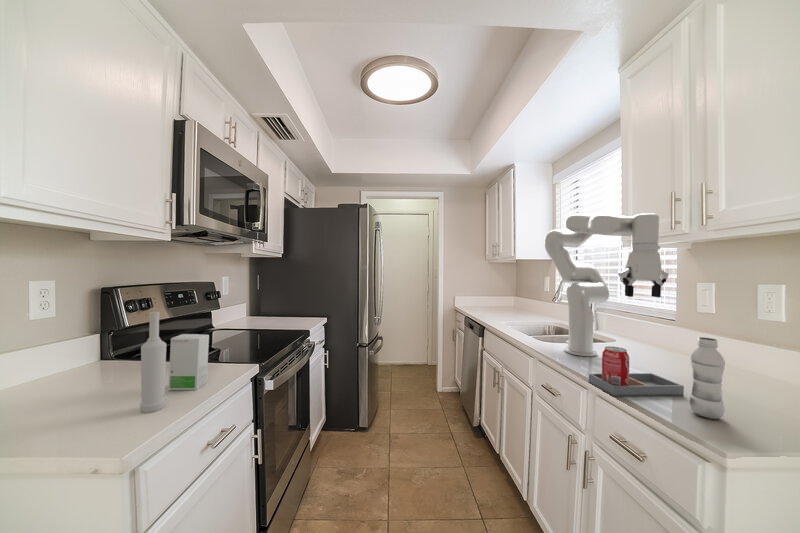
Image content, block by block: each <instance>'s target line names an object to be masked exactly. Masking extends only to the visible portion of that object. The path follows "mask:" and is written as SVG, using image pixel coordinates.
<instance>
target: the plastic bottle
mask: <svg viewBox="0 0 800 533" xmlns="http://www.w3.org/2000/svg"><path fill="white" fill-rule="evenodd" d="M696 344H697V346H698V347H697V348H696V349H695V350H694V351H693V352H692V353H691V355H690V363H691V370H692V377H693V378H692V390H691V394H690V397H689V406H690V409H691V411H692V412H693V413H695V414H696V415H698V416H699V417H700V416H701V417H703V418H706V419H711V420H712V419H713V420H720V419H721V418H723V417H724V415H725V411H726V410H725V404H724V401H723V393H722V392H723V391H722V387H723V386H722V385H723V384H722V383H723V375H724V372H725V371H724V370H725V366H726V360H725V358H724V357H723V356H722V354H721V353H720V352H719V351H718V350H717V348H719V345H718V339H715V338H709V337H701V336H700V337H697V343H696Z"/></svg>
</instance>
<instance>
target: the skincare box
mask: <svg viewBox="0 0 800 533" xmlns="http://www.w3.org/2000/svg"><path fill="white" fill-rule="evenodd" d="M209 344H210V334H198V333H191V334H190V333H182V334H181V333H180V334H179V335H177V336H172V337H171V338H170V348H169V349H170V350H169V351H170V352H169V367H168V368H169V370H168V371H169V373H168V389H167V390H168V391H197V390H199V389H200V388H201V387H203V386H204V385H206V384H207V382H208V368H209V367H208V365H209V364H208V362H209V347H210V345H209Z"/></svg>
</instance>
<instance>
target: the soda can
mask: <svg viewBox="0 0 800 533" xmlns="http://www.w3.org/2000/svg"><path fill="white" fill-rule="evenodd" d="M627 351H628V350H627V349H626V348H623V347H618V346H610V345H609V346H605V347H604V350H603V351H602V352H601V353H602V355H601V373H602V380H604V381H606V382H608V383H610V384H612V385H614V386H628V385H629V373H630V355H629V354H628V352H627Z"/></svg>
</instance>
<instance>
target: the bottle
mask: <svg viewBox="0 0 800 533" xmlns="http://www.w3.org/2000/svg"><path fill="white" fill-rule="evenodd" d="M148 314H149V316H148V320H149V321H148V322H149V326H148V327H149V328H148V329H149V331H148V334H149V337H148V338H147V340H146V342H144V343H143V344H142V345H141V346H140V356H141V357H140V366H141V369H140V370H141V371H140V374H141V376H140V378H141V402H140V404H139V409H140V412H141V413H143V414H148V413H156V412H158V411H160V410H161V411H162V410H163V409H164V408H165V406H166V398H165V389H166V387H165V386H166V364H167V362H166V361H167V343H166V342H165V341H164V340H162V339H161V337H160V311H151V312H149V313H148Z"/></svg>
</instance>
